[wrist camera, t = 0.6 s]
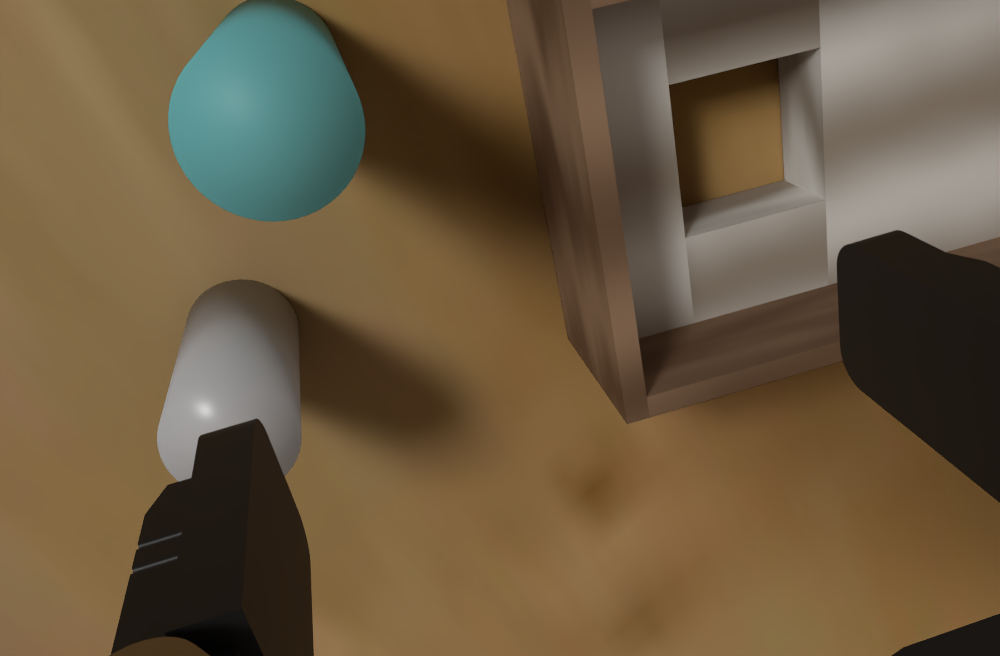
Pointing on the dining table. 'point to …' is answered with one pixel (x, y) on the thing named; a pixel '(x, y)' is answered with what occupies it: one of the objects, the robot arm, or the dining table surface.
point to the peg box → (759, 211)
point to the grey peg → (234, 373)
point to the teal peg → (268, 114)
